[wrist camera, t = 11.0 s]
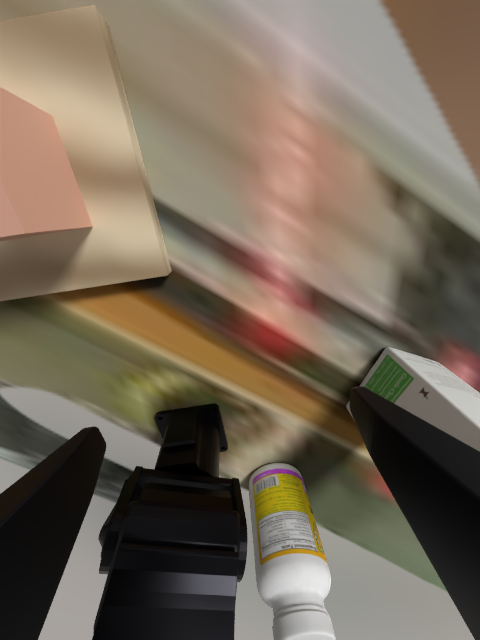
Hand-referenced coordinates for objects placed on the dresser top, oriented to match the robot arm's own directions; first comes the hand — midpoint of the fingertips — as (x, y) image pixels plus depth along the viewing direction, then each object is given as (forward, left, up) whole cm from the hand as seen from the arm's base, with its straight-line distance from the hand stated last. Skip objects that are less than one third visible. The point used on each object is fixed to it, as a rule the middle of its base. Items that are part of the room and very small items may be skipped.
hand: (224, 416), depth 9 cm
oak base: (+10, +11, -13) cm, 20 cm away
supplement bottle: (-24, -2, -13) cm, 28 cm away
